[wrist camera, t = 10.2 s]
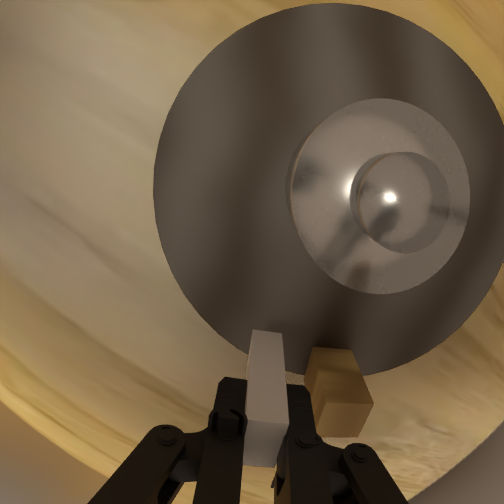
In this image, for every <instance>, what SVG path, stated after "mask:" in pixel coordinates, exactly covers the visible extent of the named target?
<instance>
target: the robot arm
mask: <svg viewBox="0 0 504 504" xmlns="http://www.w3.org/2000/svg"><path fill="white" fill-rule="evenodd" d="M276 462H277V471H276V474H275V476H274V479H273V482H272V484H271V488H274V504H409V503H408V502H407V500H406V499H405V497H404V496H403V494H402V493H401V491H400V490H399V488H398V486H397V485H396V483H395V482H394V480H393V479H392V477H391V476H390V474H389V473H388V471H387V469H386V468H385V466H384V465H383V463H382V462H381V460H380V459H379V457H378V455H377V454H376V452H375V451H374V450H373V449H372V448H371V447H369V446H367V445H366V444H361V443H353V444H350V445H348V446H347V447H346V448H345V449H341V448H338V447H334V446H331V445H328V444H326V443H325V442H323V440H322V438H321V437H320V436H319V435H318V434H317V432H316V426H315V420H314V414H313V409H312V403H311V396H310V392H309V391H308V390H307V389H306V387H305V386H304V385H293V384H286V376H285V363H284V351H283V340H282V333H276V332H268V331H261V330H254V329H253V331H252V337H251V343H250V349H249V355H248V361H247V367H246V374H245V380H244V379H237V378H230V377H224V378H223V379H222V380H221V381H220V382H219V384H218V389H217V394H216V399H215V403H214V408H213V410H212V411H211V413H210V415H209V421H208V427H207V428H206V429H204V430H202V431H200V432H195V433H183V432H182V430H181V429H179V428H177V427H175V426H172V425H159V426H156V427H154V428H152V429H151V430H150V431H149V432H148V433H147V435H146V436H145V437H144V438H143V439H142V441H141V442H140V443H139V444H138V445H137V447H136V448H135V449H134V450H133V451H132V452H131V454H130V455H129V456H128V457H127V458H126V460H125V461H124V462H123V463H122V464H121V465H120V467H119V468H118V469H117V470H116V471H115V472H114V474H113V475H112V476H111V477H110V478H109V479H108V481H107V482H106V483H105V484H104V485H103V487H102V488H101V489H100V490H99V491H98V492H97V493H96V494H95V496H94V497H93V498H92V499H91V500H90V501H89V502H88V504H171V503H172V502H173V500H174V498H175V497H176V495H177V494H178V492H179V490H180V489H181V487H182V486H183V484H184V482H193V481H197V484H196V489H195V494H194V499H193V504H239V502H240V490H241V478H242V466H243V465H250V466H260V467H271V468H274V467H275V465H276Z"/></svg>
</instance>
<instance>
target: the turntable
mask: <svg viewBox="0 0 504 504" xmlns="http://www.w3.org/2000/svg"><path fill="white" fill-rule="evenodd" d="M375 98H385V99H394V100H399V101H403V102H406V103H409V104H412V105H414V106H416V107H418V108H420V109H422V110H424V111H425V112H427V113H428V114H430V115H431V116H432V117H434V118H435V119H436V120H437V121H438V122H439V123H440V124H441V125H442V126H443V127H444V128H445V129H446V130H447V131H448V133H449V134H450V135H451V137H452V138H453V140H454V141H455V143H456V145H457V147H458V148H459V150H460V152H461V155H462V157H463V160H464V162H465V165H466V169H467V173H468V178H469V186H470V207H469V214H468V219H467V224H466V227H465V230H464V233H463V236H462V238H461V240H460V242H459V244H458V246H457V248H456V250H455V251H454V253H453V255H452V256H451V257H450V259H449V260H448V261H447V262H446V264H445V265H444V266H443V267H442V268H441V269H440V270H439V271H438V272H437V273H435V274H434V275H433V276H432V277H430V278H429V279H428V280H426V281H424V282H423V283H421V284H419V285H417V286H415V287H413V288H410V289H408V290H405V291H401V292H397V293H391V294H371V293H364V292H360V291H357V290H353V289H351V288H349V287H346V286H344V285H342V284H340V283H339V282H337V281H336V280H334V279H332V278H331V277H330V276H329V275H328V274H326V273H325V272H324V271H323V270H322V269H321V268H320V267H319V266H318V265H317V264H316V263H315V261H314V260H313V259H312V257H311V256H310V254H309V253H308V251H307V250H306V248H305V246H304V244H303V242H302V240H301V238H300V236H299V234H298V232H297V230H296V228H295V226H294V224H293V222H292V219H291V217H290V214H289V211H288V207H287V202H286V193H285V187H286V176H287V170H288V167H289V163H290V160H291V158H292V156H293V154H294V151H295V150H296V148H297V146H298V145H299V143H300V142H301V141H302V139H303V138H304V137H305V136H306V135H307V134H308V133H309V132H310V131H311V130H312V129H313V128H314V127H316V126H317V125H318V124H320V123H321V122H322V121H324V120H325V119H326V118H328V117H329V116H330V115H332V114H333V113H335V112H336V111H338V110H339V109H341V108H343V107H345V106H347V105H350V104H352V103H355V102H358V101H362V100H367V99H375ZM153 198H154V208H155V218H156V224H157V229H158V233H159V237H160V241H161V245H162V249H163V251H164V254H165V256H166V259H167V261H168V264H169V266H170V269H171V271H172V273H173V275H174V277H175V279H176V281H177V282H178V284H179V286H180V288H181V290H182V291H183V293H184V295H185V296H186V298H187V299H188V300H189V302H190V303H191V304H192V306H193V307H194V308H195V310H196V311H197V312H198V313H199V315H200V316H201V317H202V318H203V319H204V320H205V321H206V322H207V323H208V324H209V325H210V326H211V327H212V328H213V329H214V330H215V331H216V332H217V333H218V334H219V335H221V336H222V337H223V338H224V339H226V340H227V341H228V342H230V343H231V344H232V345H234V346H235V347H236V348H238V349H239V350H241V351H243V352H245V353H246V354H248V355H249V349H250V343H251V337H252V331H253V329H254V330H261V331H268V332H276V333H282V340H283V351H284V363H285V371H289V372H293V373H296V374H300V375H305V377H304V383H305V387H306V389H307V390H308V391H309V392H310V396H311V403H312V409H313V414H314V420H315V426H316V432H317V434H318V435H319V436H320V437H358V436H359V434H360V432H361V430H362V428H363V426H364V424H365V421H366V419H367V417H368V415H369V413H370V411H371V409H372V407H373V404H374V403H373V401H372V398H371V396H370V393H369V391H368V388H367V386H366V384H365V381H364V379H363V376H365V375H370V374H375V373H379V372H383V371H386V370H390V369H392V368H395V367H398V366H400V365H403V364H405V363H408V362H410V361H412V360H414V359H416V358H418V357H420V356H421V355H423V354H425V353H427V352H428V351H430V350H431V349H433V348H434V347H436V346H437V345H439V344H440V343H442V342H443V341H444V340H446V339H447V338H448V337H449V336H450V335H451V334H452V333H454V332H455V331H456V330H457V329H458V328H459V327H460V326H461V325H462V324H463V323H464V322H465V321H466V320H467V319H468V318H469V316H470V315H471V314H472V313H473V312H474V311H475V309H476V308H477V307H478V305H479V304H480V302H481V301H482V300H483V298H484V297H485V295H486V294H487V292H488V291H489V289H490V287H491V285H492V283H493V282H494V280H495V278H496V276H497V274H498V272H499V269H500V267H501V264H502V262H503V260H504V125H503V122H502V120H501V117H500V115H499V113H498V111H497V109H496V106H495V104H494V102H493V101H492V99H491V97H490V95H489V94H488V92H487V91H486V89H485V87H484V86H483V84H482V83H481V81H480V80H479V79H478V77H477V76H476V75H475V74H474V72H473V71H472V70H471V69H470V67H469V66H468V65H467V64H466V63H465V62H464V61H463V60H462V59H461V58H460V57H459V56H458V55H457V54H456V53H455V52H454V51H453V50H452V49H451V48H450V47H449V46H447V45H446V44H445V43H444V42H442V41H441V40H440V39H438V38H437V37H436V36H434V35H433V34H431V33H430V32H428V31H427V30H425V29H423V28H421V27H420V26H418V25H416V24H414V23H412V22H411V21H409V20H406V19H404V18H401V17H399V16H396V15H394V14H391V13H389V12H386V11H382V10H378V9H374V8H370V7H366V6H361V5H352V4H341V3H326V4H310V5H304V6H299V7H294V8H289V9H285V10H282V11H279V12H276V13H273V14H271V15H268V16H265V17H262V18H260V19H258V20H256V21H254V22H253V23H251V24H249V25H247V26H245V27H243V28H241V29H240V30H238V31H236V32H235V33H234V34H232V35H231V36H230V37H228V38H227V39H226V40H224V41H223V42H222V43H220V44H219V45H218V46H216V47H215V48H214V49H213V50H212V51H211V52H210V53H209V54H208V55H207V56H206V57H205V59H204V60H203V61H202V62H201V63H200V64H199V65H198V66H197V67H196V68H195V70H194V71H193V72H192V74H191V75H190V77H189V78H188V79H187V81H186V82H185V84H184V85H183V86H182V88H181V89H180V91H179V93H178V95H177V97H176V99H175V101H174V103H173V105H172V107H171V109H170V111H169V113H168V115H167V118H166V121H165V124H164V127H163V130H162V133H161V136H160V139H159V144H158V149H157V154H156V160H155V166H154V184H153Z"/></svg>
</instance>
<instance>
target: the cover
mask: <svg viewBox="0 0 504 504" xmlns="http://www.w3.org/2000/svg"><path fill="white" fill-rule="evenodd" d="M285 193H286V202H287V207H288V211H289V214H290V217H291V219H292V222H293V224H294V226H295V228H296V230H297V232H298V234H299V236H300V238H301V240H302V242H303V244H304V246H305V248H306V250H307V251H308V253H309V254H310V256H311V257H312V259H313V260H314V261H315V263H316V264H317V265H318V266H319V267H320V268H321V269H322V270H323V271H324V272H325V273H326V274H328V275H329V276H330V277H331V278H332V279H334V280H336V281H337V282H339V283H340V284H342V285H344V286H346V287H349V288H351V289H353V290H357V291H360V292H364V293H371V294H391V293H397V292H401V291H405V290H408V289H410V288H413V287H415V286H417V285H419V284H421V283H423V282H424V281H426V280H428V279H429V278H430V277H432V276H433V275H434V274H435V273H437V272H438V271H439V270H440V269H441V268H442V267H443V266H444V265H445V264H446V262H447V261H448V260H449V259H450V257H451V256H452V255H453V253H454V251H455V250H456V248H457V246H458V244H459V242H460V240H461V238H462V236H463V233H464V230H465V227H466V224H467V219H468V214H469V207H470V186H469V178H468V173H467V169H466V165H465V162H464V160H463V157H462V155H461V152H460V150H459V148H458V147H457V145H456V143H455V141H454V140H453V138H452V137H451V135H450V134H449V133H448V131H447V130H446V129H445V128H444V127H443V126H442V125H441V124H440V123H439V122H438V121H437V120H436V119H435V118H434V117H432V116H431V115H430V114H428V113H427V112H425V111H424V110H422V109H420V108H418V107H416V106H414V105H412V104H409V103H406V102H403V101H399V100H394V99H385V98H375V99H367V100H362V101H358V102H355V103H352V104H350V105H347V106H345V107H343V108H341V109H339V110H338V111H336V112H335V113H333V114H332V115H330V116H329V117H328V118H326V119H325V120H324V121H322V122H321V123H320V124H318V125H317V126H316V127H314V128H313V129H312V130H311V131H310V132H309V133H308V134H307V135H306V136H305V137H304V138H303V139H302V141H301V142H300V143H299V145H298V146H297V148H296V150H295V151H294V154H293V156H292V158H291V160H290V163H289V167H288V170H287V176H286V187H285Z"/></svg>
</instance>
